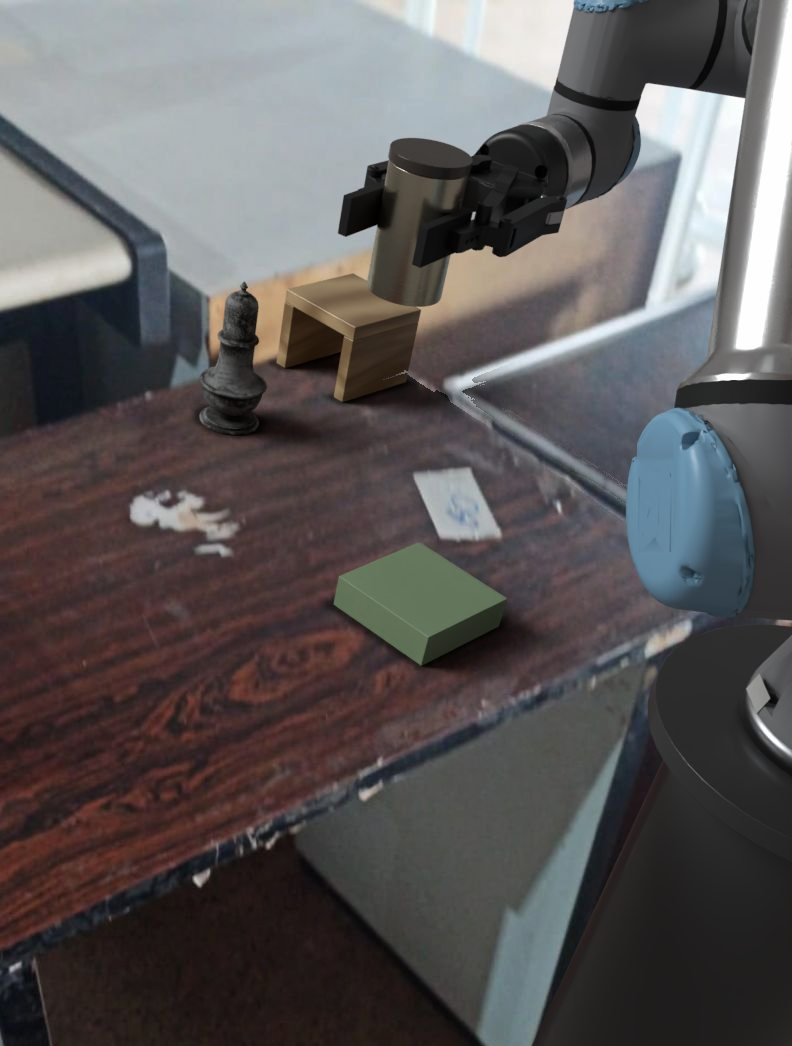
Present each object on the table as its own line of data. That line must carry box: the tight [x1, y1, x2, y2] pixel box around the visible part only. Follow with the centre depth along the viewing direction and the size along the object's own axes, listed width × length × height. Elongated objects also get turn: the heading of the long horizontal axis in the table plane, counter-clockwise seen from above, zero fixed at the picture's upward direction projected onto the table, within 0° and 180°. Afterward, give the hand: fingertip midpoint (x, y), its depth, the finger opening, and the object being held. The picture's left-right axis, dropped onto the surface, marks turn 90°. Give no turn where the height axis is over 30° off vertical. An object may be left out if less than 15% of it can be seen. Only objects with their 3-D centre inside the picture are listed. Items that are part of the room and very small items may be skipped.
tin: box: [366, 137, 473, 308], centre depth 98 cm, size 6×6×10 cm
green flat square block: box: [333, 541, 508, 667], centre depth 95 cm, size 9×9×2 cm
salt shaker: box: [199, 281, 268, 436], centre depth 109 cm, size 6×6×12 cm
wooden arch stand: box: [276, 273, 422, 403], centre depth 121 cm, size 9×9×7 cm
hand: (382, 231), depth 94 cm, fingers closed on tin, 6 cm apart
